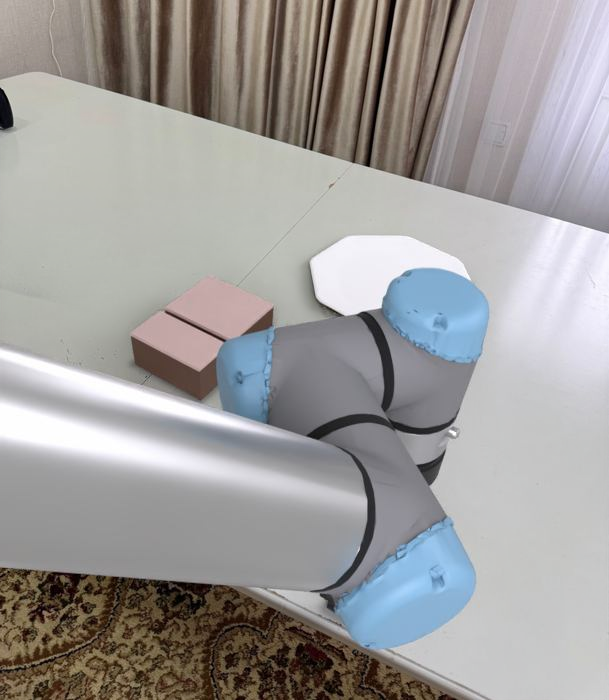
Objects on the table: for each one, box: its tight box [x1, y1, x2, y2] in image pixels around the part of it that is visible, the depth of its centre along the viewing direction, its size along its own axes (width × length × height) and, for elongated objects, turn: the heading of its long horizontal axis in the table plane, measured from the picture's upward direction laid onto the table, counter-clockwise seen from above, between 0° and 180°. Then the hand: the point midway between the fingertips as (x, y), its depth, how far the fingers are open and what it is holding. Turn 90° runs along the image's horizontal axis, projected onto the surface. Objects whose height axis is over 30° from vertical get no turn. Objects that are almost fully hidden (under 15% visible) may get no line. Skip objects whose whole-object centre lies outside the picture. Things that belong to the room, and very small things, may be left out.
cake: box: [164, 274, 275, 342], centre depth 92 cm, size 10×12×6 cm
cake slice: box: [129, 310, 224, 401], centre depth 86 cm, size 6×12×6 cm, turn 58°
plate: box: [309, 234, 473, 316], centre depth 106 cm, size 28×28×2 cm
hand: (370, 561), depth 68 cm, fingers open, 13 cm apart
